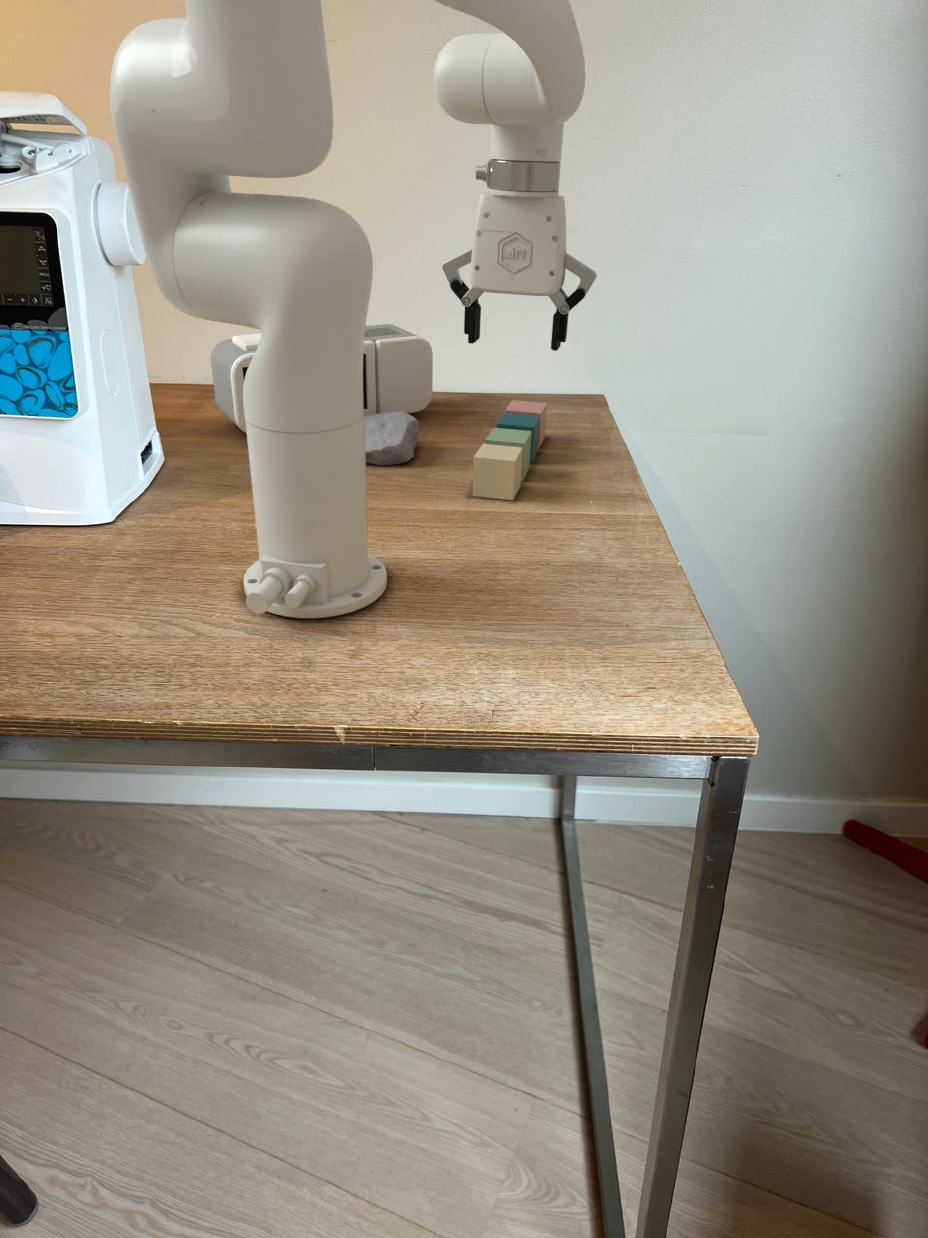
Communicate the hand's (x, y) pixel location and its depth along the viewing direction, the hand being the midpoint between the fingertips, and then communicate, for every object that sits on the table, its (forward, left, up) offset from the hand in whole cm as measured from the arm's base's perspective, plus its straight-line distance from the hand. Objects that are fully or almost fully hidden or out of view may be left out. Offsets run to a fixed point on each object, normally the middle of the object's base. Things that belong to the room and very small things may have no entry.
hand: (514, 344), depth 104 cm
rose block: (+7, -1, -14) cm, 16 cm away
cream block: (-11, -1, -14) cm, 18 cm away
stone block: (-3, +17, -14) cm, 22 cm away
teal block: (+1, -1, -14) cm, 14 cm away
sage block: (-5, -1, -14) cm, 15 cm away
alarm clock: (+7, +26, -14) cm, 31 cm away
